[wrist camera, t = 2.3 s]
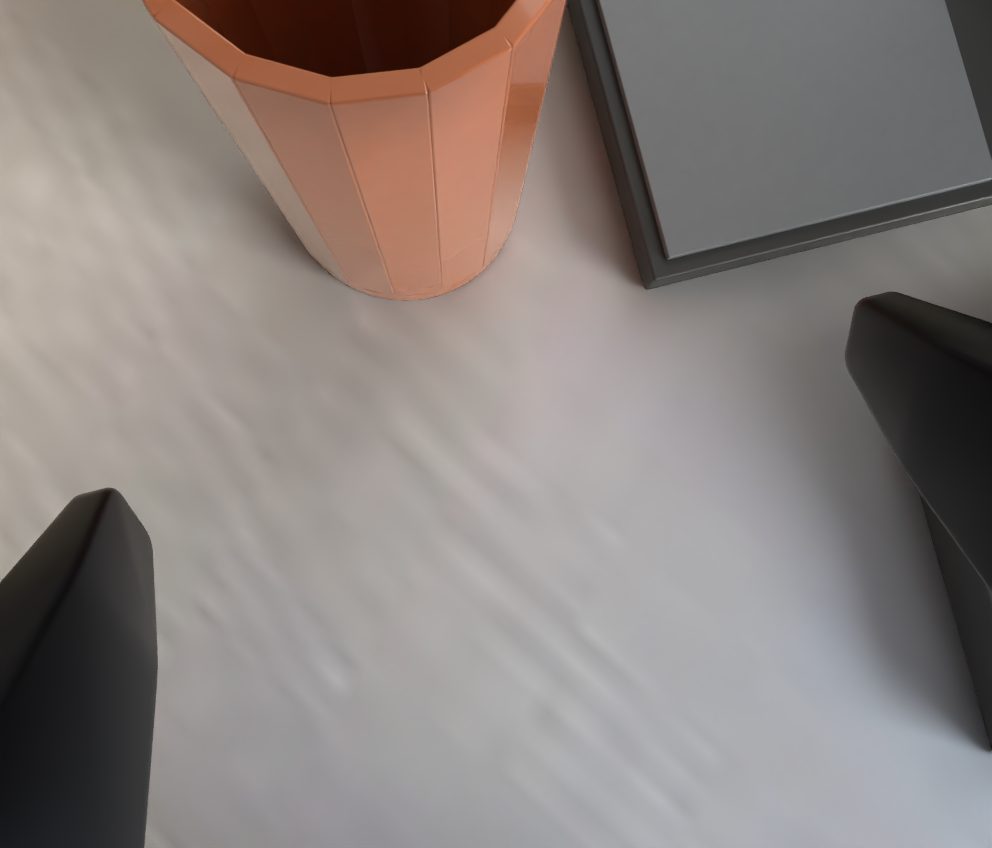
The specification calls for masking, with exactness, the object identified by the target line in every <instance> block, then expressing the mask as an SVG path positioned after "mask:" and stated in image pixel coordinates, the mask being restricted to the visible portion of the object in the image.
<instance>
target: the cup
mask: <svg viewBox="0 0 992 848" xmlns="http://www.w3.org/2000/svg"><path fill="white" fill-rule="evenodd" d="M567 1H568V0H142V2H143V4H144V5H145V7H146V9H147V10H148V12H149V14H150V16H151V17H152V19H153V20H154V22H155V23H156V25H157V26H158V28H159V29H160V31H161V32H162V34H163V35H164V37H165V38H166V40H167V41H168V43H169V44H170V46H171V47H172V49H173V50H174V52H175V53H176V55H177V56H178V58H179V59H180V61H181V62H182V64H183V65H184V67H185V68H186V70H187V71H188V73H189V74H190V76H191V77H192V79H193V80H194V82H195V83H196V84H197V86H198V87H199V89H200V90H201V92H202V93H203V95H204V96H205V98H206V99H207V101H208V102H209V104H210V105H211V107H212V108H213V110H214V111H215V113H216V114H217V116H218V117H219V119H220V120H221V122H222V123H223V125H224V126H225V128H226V129H227V131H228V132H229V134H230V135H231V137H232V138H233V140H234V141H235V143H236V144H237V146H238V147H239V149H240V150H241V152H242V153H243V155H244V156H245V158H246V159H247V161H248V162H249V164H250V165H251V167H252V168H253V170H254V171H255V173H256V174H257V176H258V177H259V179H260V180H261V182H262V183H263V185H264V186H265V188H266V189H267V191H268V192H269V194H270V195H271V197H272V198H273V200H274V201H275V203H276V204H277V206H278V207H279V209H280V210H281V212H282V213H283V215H284V216H285V218H286V219H287V221H288V222H289V224H290V225H291V227H292V228H293V230H294V231H295V233H296V234H297V236H298V237H299V239H300V240H301V242H302V243H303V245H304V246H305V248H306V249H307V251H308V252H309V254H310V255H311V256H312V257H313V258H315V259H316V260H317V261H318V262H319V263H320V265H321V266H322V267H323V268H324V269H326V270H327V271H328V272H329V273H330V274H331V275H333V276H334V277H335V278H337V279H338V280H340V281H341V282H343V283H344V284H346V285H348V286H350V287H352V288H354V289H356V290H358V291H360V292H363V293H366V294H369V295H372V296H375V297H380V298H385V299H390V300H404V301H405V300H421V299H426V298H431V297H436V296H439V295H442V294H445V293H448V292H450V291H452V290H454V289H456V288H458V287H460V286H463V285H464V284H466V283H467V282H469V281H470V280H472V279H473V278H475V277H476V276H477V275H478V274H479V273H481V272H482V271H483V270H484V269H485V268H486V267H487V266H488V265H489V264H490V263H491V262H492V261H493V259H494V258H495V257H496V256H497V254H498V253H499V251H500V250H501V248H502V247H503V245H504V244H505V242H506V240H507V238H508V236H509V234H510V232H511V230H512V228H513V224H514V220H515V217H516V213H517V209H518V205H519V201H520V197H521V193H522V189H523V185H524V181H525V177H526V173H527V169H528V164H529V160H530V156H531V152H532V148H533V144H534V139H535V135H536V131H537V127H538V123H539V119H540V114H541V110H542V106H543V102H544V98H545V93H546V89H547V85H548V81H549V77H550V73H551V68H552V64H553V60H554V56H555V52H556V47H557V43H558V39H559V35H560V31H561V27H562V22H563V18H564V14H565V10H566V6H567Z"/></svg>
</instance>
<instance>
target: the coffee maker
mask: <svg viewBox="0 0 992 848" xmlns="http://www.w3.org/2000/svg"><path fill="white" fill-rule="evenodd" d="M567 5H568V8H569V12H570V16H571V19H572V23H573V27H574V31H575V34H576V38H577V42H578V45H579V49H580V53H581V56H582V60H583V64H584V68H585V71H586V75H587V79H588V82H589V86H590V90H591V93H592V97H593V101H594V105H595V108H596V112H597V116H598V119H599V123H600V127H601V130H602V134H603V138H604V142H605V145H606V149H607V153H608V156H609V160H610V164H611V167H612V171H613V175H614V179H615V182H616V186H617V190H618V193H619V197H620V201H621V204H622V208H623V212H624V216H625V219H626V223H627V227H628V230H629V234H630V238H631V241H632V245H633V249H634V253H635V256H636V260H637V264H638V267H639V271H640V275H641V278H642V282H643V286H644V288H645V289H652V288H656V287H660V286H664V285H668V284H672V283H676V282H680V281H684V280H688V279H692V278H696V277H700V276H705V275H709V274H713V273H717V272H721V271H725V270H729V269H733V268H737V267H741V266H745V265H749V264H753V263H757V262H761V261H765V260H769V259H773V258H777V257H781V256H785V255H789V254H793V253H797V252H801V251H806V250H810V249H814V248H818V247H822V246H826V245H830V244H834V243H838V242H842V241H846V240H850V239H854V238H858V237H862V236H866V235H870V234H874V233H878V232H882V231H886V230H890V229H894V228H898V227H903V226H907V225H911V224H915V223H919V222H923V221H927V220H931V219H935V218H939V217H943V216H947V215H951V214H955V213H959V212H963V211H967V210H971V209H975V208H979V207H983V206H987V205H991V204H992V0H568V1H567Z"/></svg>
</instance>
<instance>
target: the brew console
mask: <svg viewBox="0 0 992 848" xmlns="http://www.w3.org/2000/svg"><path fill="white" fill-rule="evenodd" d="M920 496H921V499H922V503H923V507H924V510H925V514H926V517H927V521H928V524H929V528H930V531H931V535H932V538H933V542H934V545H935V549H936V552H937V556H938V559H939V563H940V566H941V570H942V574H943V577H944V581H945V584H946V588H947V591H948V595H949V598H950V602H951V605H952V609H953V612H954V616H955V619H956V623H957V626H958V630H959V633H960V637H961V641H962V644H963V648H964V651H965V655H966V658H967V662H968V665H969V669H970V672H971V676H972V679H973V683H974V686H975V690H976V693H977V697H978V700H979V704H980V708H981V711H982V715H983V718H984V722H985V725H986V729H987V732H988V736H989V739H990V743H991V746H992V592H991V591H990V589H989V588H988V587H987V585H986V584H985V582H984V581H983V580H982V578H981V577H980V575H979V574H978V573H977V571H976V570H975V568H974V567H973V566H972V564H971V563H970V562H969V560H968V559H967V557H966V556H965V555H964V553H963V552H962V550H961V549H960V548H959V546H958V545H957V543H956V542H955V541H954V539H953V538H952V536H951V535H950V534H949V532H948V531H947V529H946V528H945V527H944V525H943V524H942V523H941V521H940V520H939V518H938V517H937V516H936V514H935V513H934V511H933V510H932V509H931V507H930V506H929V504H928V503H927V502H926V500H925V499H924V497H923V496H922V495H921V493H920Z"/></svg>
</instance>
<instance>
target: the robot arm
mask: <svg viewBox="0 0 992 848" xmlns="http://www.w3.org/2000/svg"><path fill="white" fill-rule="evenodd" d="M845 361H846V366H847V369H848V371H849V373H850V375H851V377H852V379H853V381H854V382H855V384H856V386H857V388H858V390H859V391H860V393H861V395H862V397H863V399H864V400H865V402H866V404H867V406H868V408H869V409H870V411H871V413H872V415H873V417H874V418H875V420H876V422H877V424H878V425H879V427H880V429H881V431H882V433H883V434H884V436H885V438H886V440H887V442H888V443H889V445H890V447H891V449H892V451H893V452H894V454H895V456H896V457H897V459H898V461H899V462H900V464H901V466H902V467H903V469H904V470H905V472H906V473H907V475H908V476H909V478H910V479H911V481H912V482H913V484H914V485H915V486H916V488H917V489H918V491H919V492H920V493H921V495H922V496H923V497H924V499H925V500H926V502H927V503H928V504H929V506H930V507H931V509H932V510H933V511H934V513H935V514H936V516H937V517H938V518H939V520H940V521H941V523H942V524H943V525H944V527H945V528H946V529H947V531H948V532H949V534H950V535H951V536H952V538H953V539H954V541H955V542H956V543H957V545H958V546H959V548H960V549H961V550H962V552H963V553H964V555H965V556H966V557H967V559H968V560H969V562H970V563H971V564H972V566H973V567H974V568H975V570H976V571H977V573H978V574H979V575H980V577H981V578H982V580H983V581H984V582H985V584H986V585H987V587H988V588H989V589H990V591H991V592H992V323H990V322H987V321H984V320H981V319H978V318H975V317H972V316H968V315H965V314H962V313H959V312H956V311H953V310H950V309H947V308H944V307H941V306H938V305H935V304H931V303H928V302H925V301H922V300H919V299H916V298H913V297H910V296H907V295H904V294H901V293H897V292H886V293H882V294H878V295H874V296H870V297H866V298H863V299H861V300H860V301H859V302H858V303H857V304H856V306H855V308H854V312H853V317H852V321H851V326H850V331H849V336H848V341H847V345H846V350H845ZM157 670H158V656H157V630H156V609H155V589H154V568H153V550H152V544H151V540H150V537H149V535H148V533H147V531H146V529H145V528H144V526H143V525H142V523H141V522H140V521H139V519H138V518H137V516H136V515H135V513H134V512H133V510H132V509H131V508H130V506H129V505H128V503H127V502H126V500H125V499H124V497H123V496H122V495H121V494H120V493H119V492H118V491H117V490H116V489H113V488H104V489H100V490H96V491H92V492H88V493H84V494H80V495H78V496H76V497H75V498H73V499H72V500H71V501H70V502H69V504H68V505H67V506H66V507H65V508H64V509H63V511H62V512H61V513H60V514H59V515H58V516H57V517H56V519H55V520H54V521H53V522H52V523H51V524H50V526H49V527H48V528H47V529H46V530H45V531H44V533H43V534H42V535H41V536H40V537H39V538H38V539H37V541H36V542H35V543H34V544H33V545H32V546H31V548H30V549H29V550H28V551H27V552H26V553H25V555H24V556H23V557H22V558H21V559H20V560H19V561H18V563H17V564H16V565H15V566H14V567H13V568H12V570H11V571H10V572H9V573H8V574H7V575H6V576H5V578H4V579H3V580H2V581H1V582H0V848H144V844H145V831H146V818H147V806H148V793H149V780H150V767H151V754H152V741H153V728H154V715H155V702H156V689H157Z"/></svg>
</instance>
